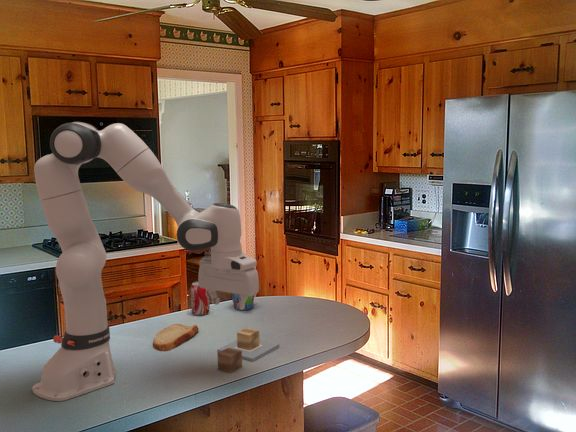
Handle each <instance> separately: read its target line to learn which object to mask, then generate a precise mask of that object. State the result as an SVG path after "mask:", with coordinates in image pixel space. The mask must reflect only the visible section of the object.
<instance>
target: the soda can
mask: <svg viewBox="0 0 576 432" xmlns="http://www.w3.org/2000/svg"><path fill="white" fill-rule="evenodd" d="M210 304H211V303H210V294H209V290H208V289H205V288H201V287H200V286H199V284H198V281H194V282H192V283H191V286H190V309H191V313H192V314H193V315H195V316H198V317H199V316H204V315H207V314H208V313H209V312H210V310H211V309H210V308H211V307H210Z"/></svg>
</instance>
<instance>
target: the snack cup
mask: <svg viewBox="0 0 576 432" xmlns="http://www.w3.org/2000/svg"><path fill="white" fill-rule="evenodd" d="M230 295H231V299H232V303H233V308H234V309H235V310H237V311H241V310H240V309H237V307H238V306H237V303H239V302H240V301H241V298H240V295H239V294H233V293H230ZM254 299H255V295H253V296H248V298H247V300H246V302H245V309H243V310H242V311H249V310H251V309H252V308H254V304H255V303H254Z"/></svg>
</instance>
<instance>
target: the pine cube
mask: <svg viewBox="0 0 576 432" xmlns="http://www.w3.org/2000/svg"><path fill="white" fill-rule="evenodd" d="M236 340H237V348H241V349H245V350H249V351H250V350H252V349H254V348H256V347H258V346H259V340H260V330H258V329H253V328H249V327H245V328H243V329H241V330H238V331H236Z"/></svg>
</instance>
